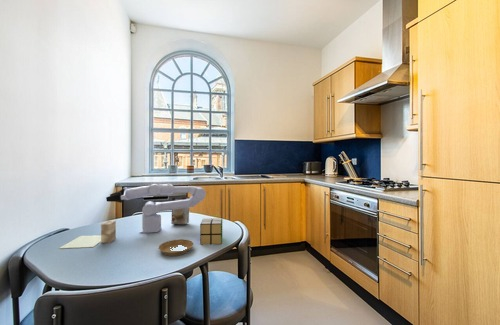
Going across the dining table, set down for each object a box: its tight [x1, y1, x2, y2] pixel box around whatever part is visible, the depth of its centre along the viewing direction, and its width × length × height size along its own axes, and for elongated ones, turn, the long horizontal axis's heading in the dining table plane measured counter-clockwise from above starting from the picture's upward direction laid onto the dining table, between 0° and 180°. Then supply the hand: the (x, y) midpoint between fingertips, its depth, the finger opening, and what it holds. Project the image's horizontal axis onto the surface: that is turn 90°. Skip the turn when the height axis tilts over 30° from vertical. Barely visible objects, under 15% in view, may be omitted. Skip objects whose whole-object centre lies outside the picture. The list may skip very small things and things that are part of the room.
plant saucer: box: [158, 238, 195, 257], centre depth 101 cm, size 15×15×3 cm
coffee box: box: [170, 196, 191, 225], centre depth 141 cm, size 9×6×16 cm
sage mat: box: [58, 234, 101, 250], centre depth 111 cm, size 14×16×1 cm
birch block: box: [100, 220, 117, 244], centre depth 112 cm, size 4×6×9 cm, turn 7°
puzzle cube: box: [199, 217, 223, 246], centre depth 113 cm, size 10×10×10 cm
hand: (108, 197), depth 122 cm, fingers open, 7 cm apart
